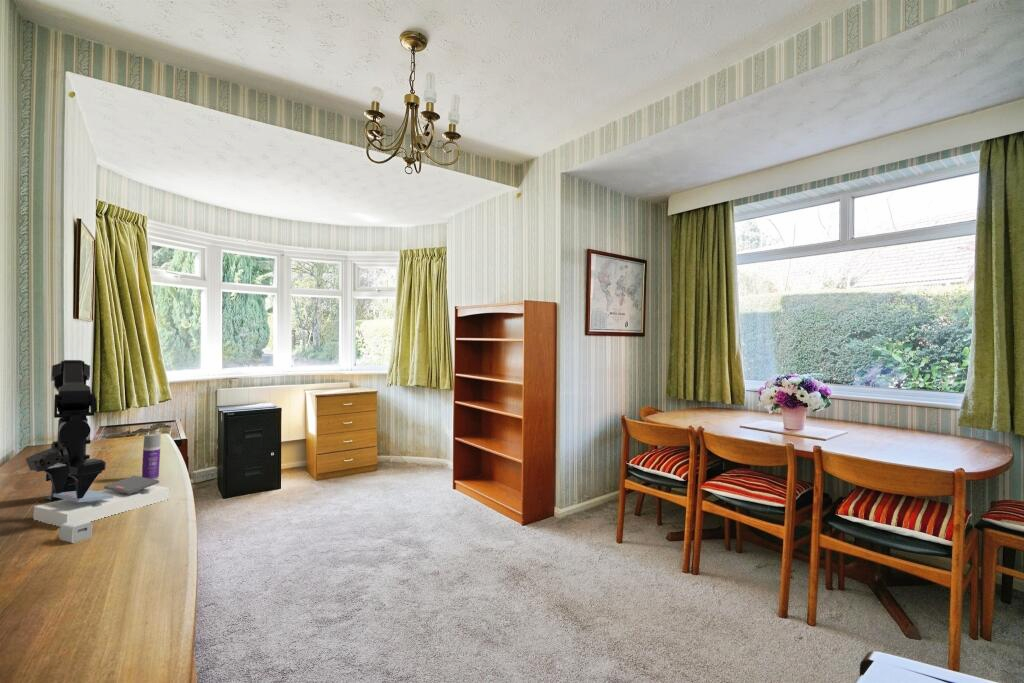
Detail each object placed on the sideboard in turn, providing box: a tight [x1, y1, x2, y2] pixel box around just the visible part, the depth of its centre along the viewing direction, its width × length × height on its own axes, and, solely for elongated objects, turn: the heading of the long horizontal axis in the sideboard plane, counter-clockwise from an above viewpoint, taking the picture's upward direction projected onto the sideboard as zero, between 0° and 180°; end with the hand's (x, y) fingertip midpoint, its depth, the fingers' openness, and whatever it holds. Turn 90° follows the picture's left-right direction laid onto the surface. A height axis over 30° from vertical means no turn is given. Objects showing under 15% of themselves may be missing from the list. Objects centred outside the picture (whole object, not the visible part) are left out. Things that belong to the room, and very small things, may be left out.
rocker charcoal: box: [103, 475, 160, 494], centre depth 138 cm, size 11×8×2 cm
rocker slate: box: [53, 489, 114, 504], centre depth 126 cm, size 11×8×2 cm
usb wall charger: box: [57, 520, 93, 544], centre depth 112 cm, size 4×7×4 cm, turn 73°
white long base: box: [32, 484, 170, 528], centre depth 132 cm, size 14×25×4 cm, turn 160°
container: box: [141, 433, 161, 480], centre depth 161 cm, size 5×5×15 cm
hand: (68, 495), depth 123 cm, fingers open, 9 cm apart
